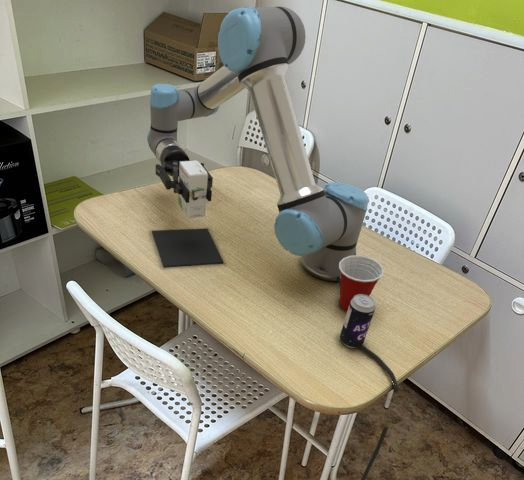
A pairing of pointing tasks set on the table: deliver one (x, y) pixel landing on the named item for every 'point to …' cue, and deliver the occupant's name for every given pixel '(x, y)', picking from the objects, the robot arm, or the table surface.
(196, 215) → the ink box
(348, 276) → the plastic cup
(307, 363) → the table surface
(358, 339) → the beverage can
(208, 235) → the mat
